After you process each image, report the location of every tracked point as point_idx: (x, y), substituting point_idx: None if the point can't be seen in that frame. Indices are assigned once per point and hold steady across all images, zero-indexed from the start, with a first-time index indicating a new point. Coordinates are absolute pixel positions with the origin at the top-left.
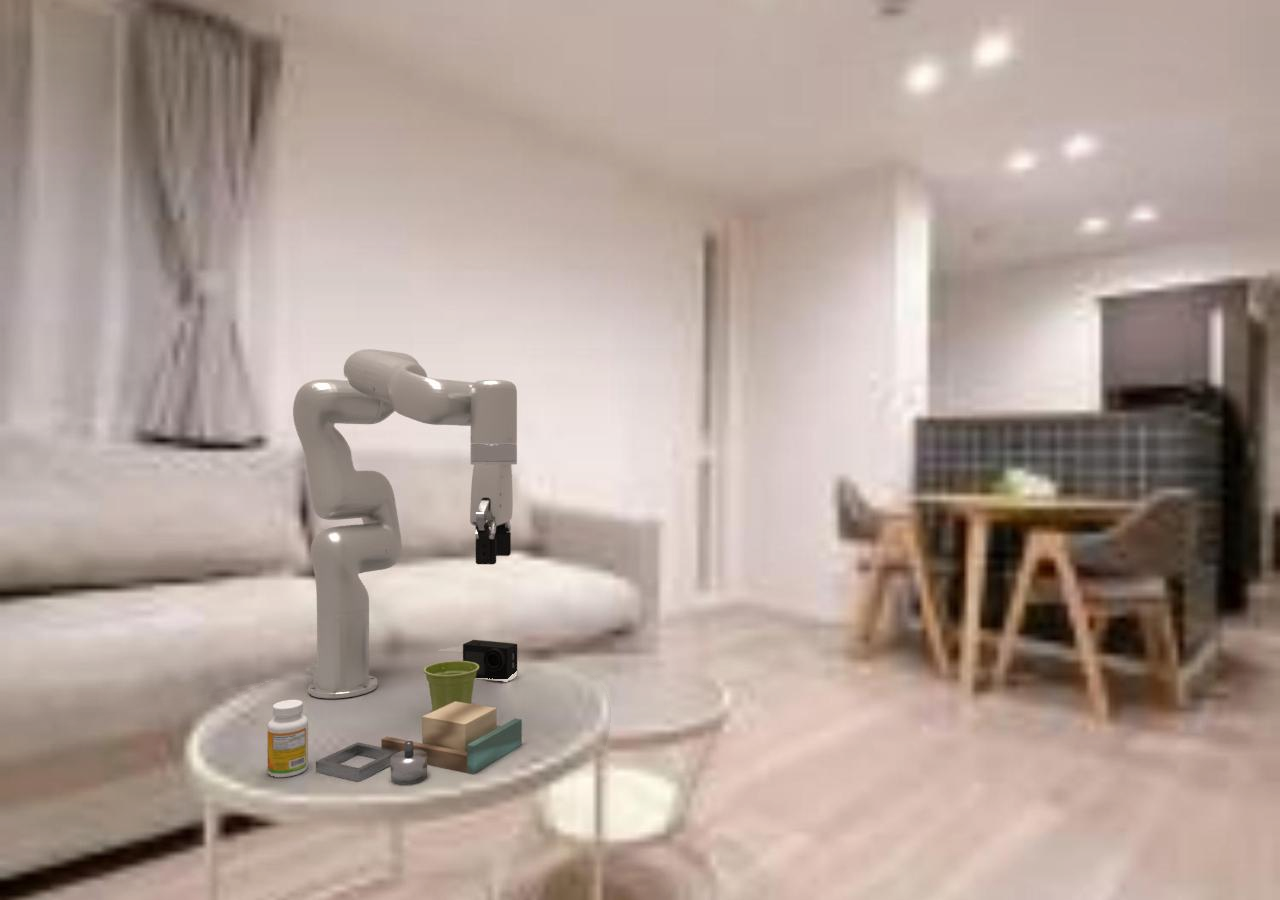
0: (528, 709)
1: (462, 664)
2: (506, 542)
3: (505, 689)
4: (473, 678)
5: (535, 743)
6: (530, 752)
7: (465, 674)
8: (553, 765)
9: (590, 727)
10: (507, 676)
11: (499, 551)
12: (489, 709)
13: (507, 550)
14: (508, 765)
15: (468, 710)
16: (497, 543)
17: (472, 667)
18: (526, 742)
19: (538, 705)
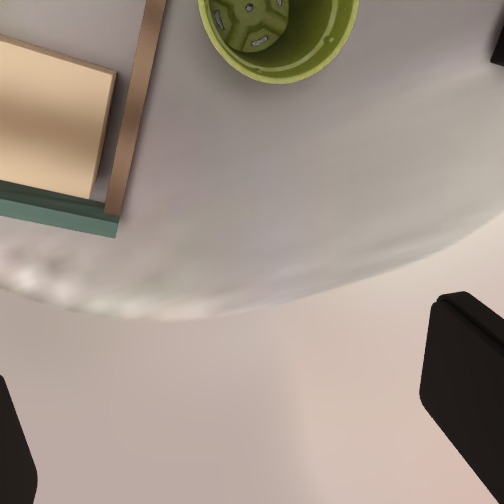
0: (313, 169)
1: (347, 6)
2: (477, 459)
3: (441, 75)
4: (265, 72)
5: (131, 241)
6: (85, 247)
7: (229, 63)
8: (39, 301)
9: (228, 306)
10: (501, 63)
11: (440, 363)
12: (74, 186)
13: (437, 416)
14: (12, 230)
15: (50, 138)
16: (488, 391)
17: (329, 46)
18: (132, 224)
19: (338, 181)
